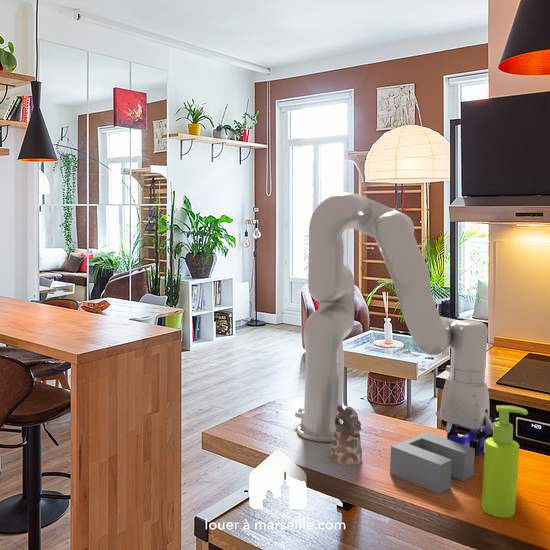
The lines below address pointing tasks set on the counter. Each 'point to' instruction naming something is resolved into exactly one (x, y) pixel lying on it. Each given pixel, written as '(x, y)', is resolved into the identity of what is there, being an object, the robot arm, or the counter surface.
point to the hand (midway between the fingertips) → (462, 451)
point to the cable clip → (468, 440)
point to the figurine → (346, 438)
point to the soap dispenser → (501, 466)
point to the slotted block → (432, 461)
